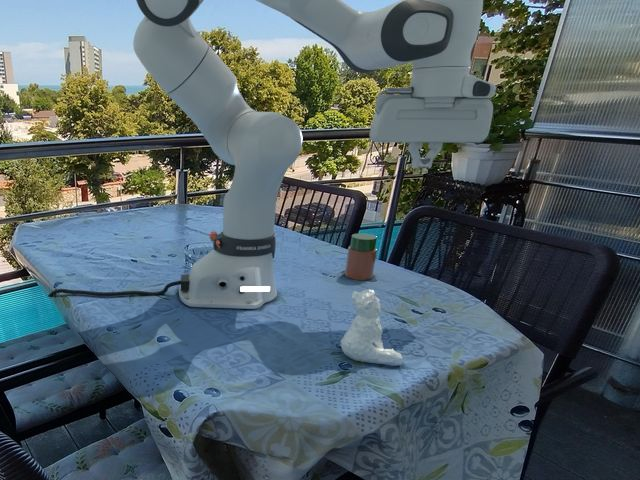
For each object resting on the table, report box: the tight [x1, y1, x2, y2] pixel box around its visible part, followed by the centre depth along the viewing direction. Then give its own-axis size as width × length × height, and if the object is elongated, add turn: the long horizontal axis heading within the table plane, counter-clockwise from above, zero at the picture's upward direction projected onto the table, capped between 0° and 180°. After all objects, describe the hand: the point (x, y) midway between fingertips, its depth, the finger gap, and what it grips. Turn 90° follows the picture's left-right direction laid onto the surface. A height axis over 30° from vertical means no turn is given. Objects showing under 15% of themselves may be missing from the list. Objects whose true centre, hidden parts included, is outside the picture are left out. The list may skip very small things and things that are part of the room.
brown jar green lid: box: [344, 232, 378, 281], centre depth 113 cm, size 6×6×10 cm
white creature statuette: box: [340, 288, 403, 367], centre depth 78 cm, size 10×9×12 cm
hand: (420, 168), depth 87 cm, fingers closed
